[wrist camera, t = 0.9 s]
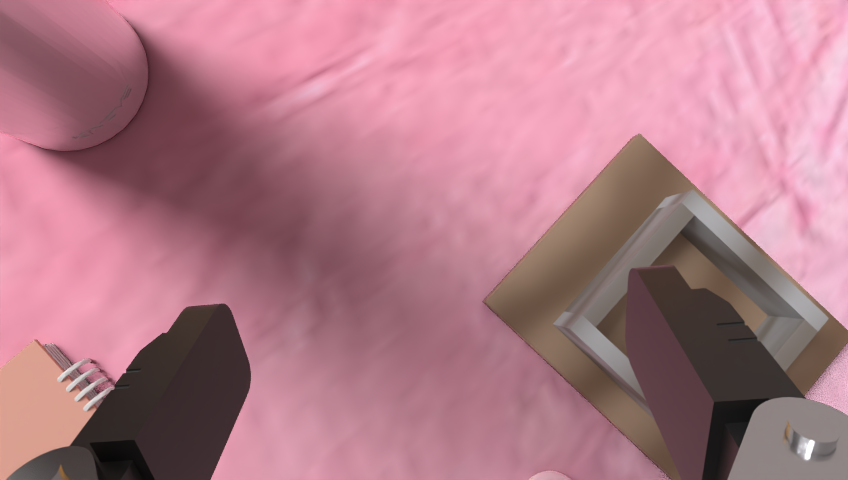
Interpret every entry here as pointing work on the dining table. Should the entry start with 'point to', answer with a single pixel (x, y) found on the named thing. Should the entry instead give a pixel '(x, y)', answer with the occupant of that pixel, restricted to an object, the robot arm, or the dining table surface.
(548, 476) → the smoothie
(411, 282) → the dining table surface
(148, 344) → the robot arm
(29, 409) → the notebook
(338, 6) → the dining table surface
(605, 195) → the collar board
